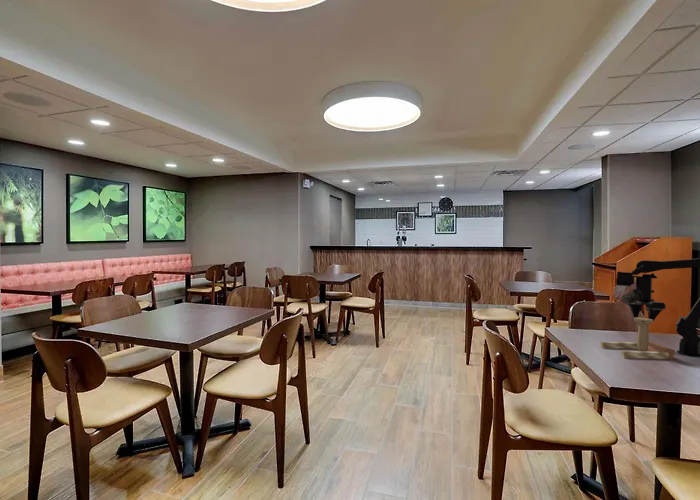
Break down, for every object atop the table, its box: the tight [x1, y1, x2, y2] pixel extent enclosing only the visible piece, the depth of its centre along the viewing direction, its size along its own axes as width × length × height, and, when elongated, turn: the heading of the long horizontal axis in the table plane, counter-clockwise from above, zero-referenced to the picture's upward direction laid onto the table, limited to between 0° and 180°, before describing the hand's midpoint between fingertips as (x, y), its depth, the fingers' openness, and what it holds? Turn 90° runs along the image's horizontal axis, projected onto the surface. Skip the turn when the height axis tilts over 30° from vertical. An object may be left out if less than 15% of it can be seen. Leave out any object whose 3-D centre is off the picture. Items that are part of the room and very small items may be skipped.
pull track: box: [599, 340, 676, 360], centre depth 159 cm, size 20×16×4 cm
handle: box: [633, 317, 654, 351], centre depth 159 cm, size 5×6×15 cm
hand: (642, 321), depth 168 cm, fingers open, 9 cm apart
